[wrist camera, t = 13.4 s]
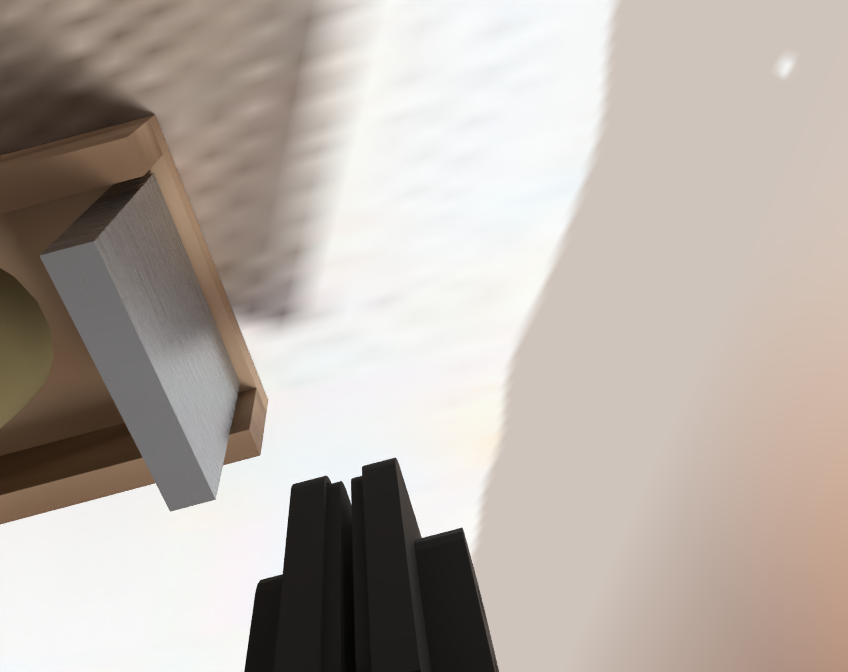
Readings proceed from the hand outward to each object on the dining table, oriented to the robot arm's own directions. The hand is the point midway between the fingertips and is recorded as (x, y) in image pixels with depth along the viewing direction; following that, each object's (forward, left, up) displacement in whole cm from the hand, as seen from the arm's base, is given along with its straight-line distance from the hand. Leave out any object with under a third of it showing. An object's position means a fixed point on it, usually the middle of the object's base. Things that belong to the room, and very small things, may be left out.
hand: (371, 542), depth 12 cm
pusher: (-1, -5, -14) cm, 14 cm away
